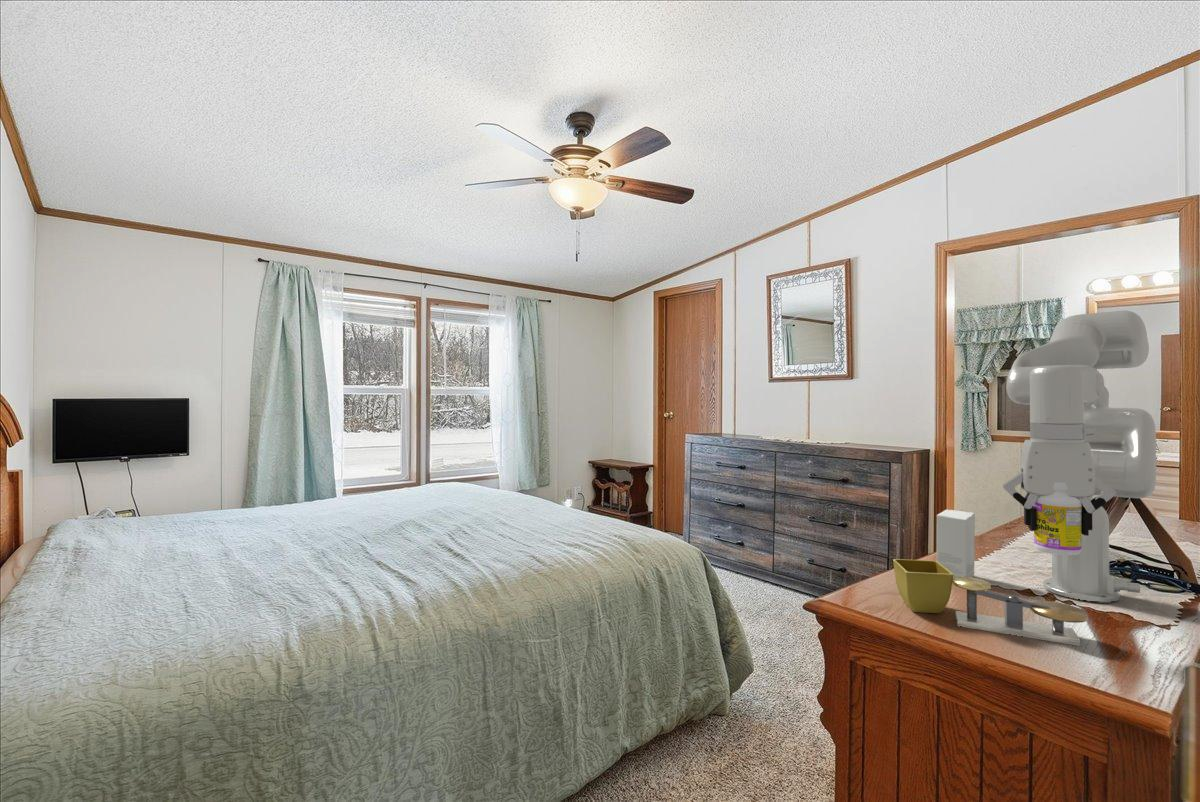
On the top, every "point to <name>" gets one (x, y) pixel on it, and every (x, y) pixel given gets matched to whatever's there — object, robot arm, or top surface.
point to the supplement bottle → (1058, 522)
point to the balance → (1018, 615)
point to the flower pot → (923, 584)
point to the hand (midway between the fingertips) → (1057, 530)
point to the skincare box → (956, 542)
